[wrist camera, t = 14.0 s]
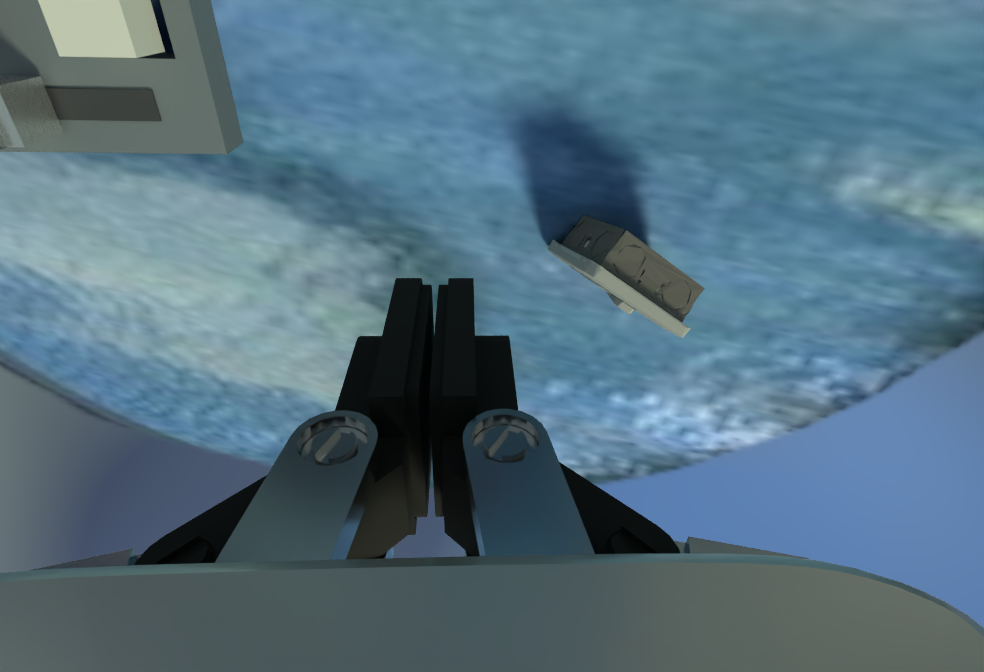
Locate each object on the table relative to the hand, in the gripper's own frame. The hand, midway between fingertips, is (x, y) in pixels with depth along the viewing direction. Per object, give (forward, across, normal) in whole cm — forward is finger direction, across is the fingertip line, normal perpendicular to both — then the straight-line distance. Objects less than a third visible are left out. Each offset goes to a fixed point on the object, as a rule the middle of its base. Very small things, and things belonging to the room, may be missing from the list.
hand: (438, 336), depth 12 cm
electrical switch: (+29, -12, +11) cm, 34 cm away
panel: (+29, +24, -2) cm, 38 cm away
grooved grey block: (+26, +26, 0) cm, 36 cm away
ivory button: (+26, +19, -5) cm, 32 cm away
